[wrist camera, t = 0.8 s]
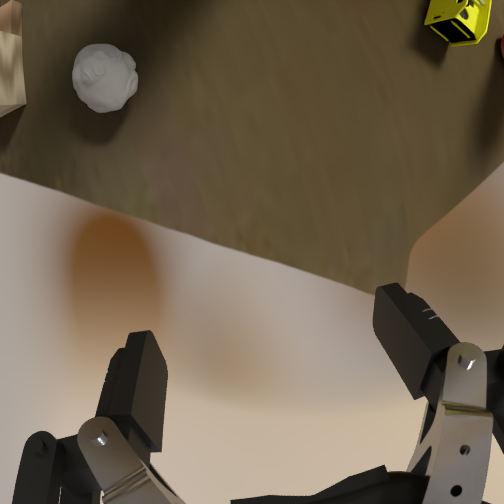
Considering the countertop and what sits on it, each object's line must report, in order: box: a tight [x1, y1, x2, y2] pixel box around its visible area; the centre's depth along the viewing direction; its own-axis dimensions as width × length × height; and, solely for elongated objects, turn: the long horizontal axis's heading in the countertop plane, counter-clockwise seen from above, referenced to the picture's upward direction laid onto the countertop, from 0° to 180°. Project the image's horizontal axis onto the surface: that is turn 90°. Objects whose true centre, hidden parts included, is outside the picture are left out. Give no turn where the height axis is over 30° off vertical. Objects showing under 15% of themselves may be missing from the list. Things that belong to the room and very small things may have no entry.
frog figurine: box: [72, 44, 138, 113], centre depth 22 cm, size 6×7×7 cm
